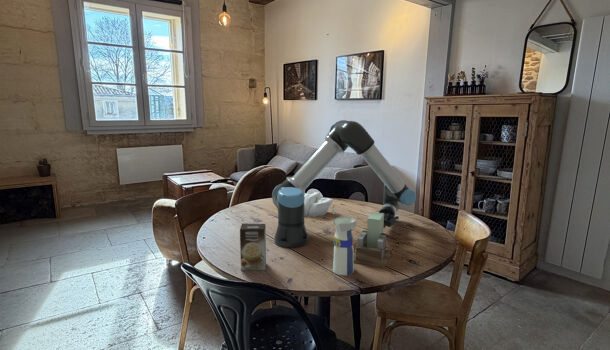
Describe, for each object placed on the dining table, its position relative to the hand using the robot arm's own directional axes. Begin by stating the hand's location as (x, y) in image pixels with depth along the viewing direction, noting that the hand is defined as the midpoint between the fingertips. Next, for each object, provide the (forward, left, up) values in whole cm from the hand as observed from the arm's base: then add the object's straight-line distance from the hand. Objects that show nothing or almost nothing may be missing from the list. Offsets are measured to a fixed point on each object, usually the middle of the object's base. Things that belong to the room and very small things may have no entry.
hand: (378, 228), depth 144 cm
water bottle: (-24, -17, -8) cm, 31 cm away
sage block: (-5, -6, -6) cm, 10 cm away
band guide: (-9, -10, -8) cm, 15 cm away
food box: (-55, -4, -8) cm, 56 cm away
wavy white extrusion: (-17, +58, -8) cm, 61 cm away
